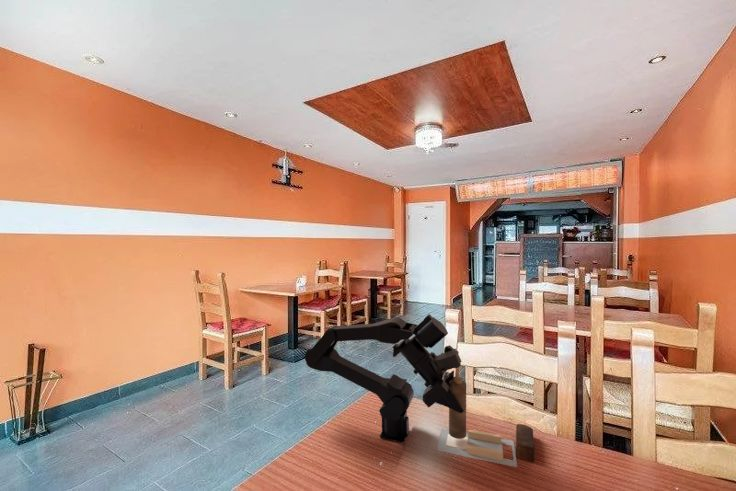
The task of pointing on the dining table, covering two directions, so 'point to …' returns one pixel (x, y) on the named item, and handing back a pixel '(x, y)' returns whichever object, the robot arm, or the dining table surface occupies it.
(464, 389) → the pepper mill
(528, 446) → the brick
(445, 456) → the dining table surface
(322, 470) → the dining table surface
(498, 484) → the dining table surface
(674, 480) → the dining table surface
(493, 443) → the board
